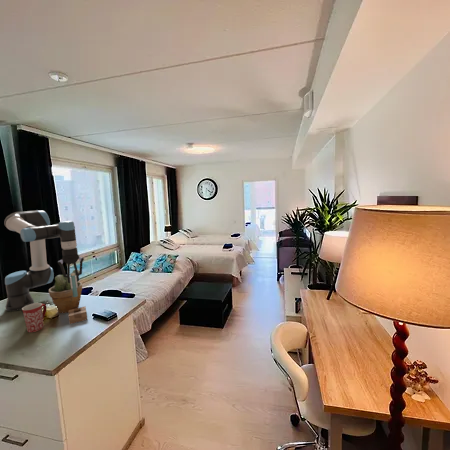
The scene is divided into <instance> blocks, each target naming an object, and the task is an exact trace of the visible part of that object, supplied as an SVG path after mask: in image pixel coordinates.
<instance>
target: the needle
mask: <svg viewBox="0 0 450 450" xmlns="http://www.w3.org/2000/svg"><path fill="white" fill-rule="evenodd" d="M70 276H71V279H72V287H73V288H72V291H73V297H77V296H78V293H77V288H76V281H75V273H72V272H71V273H70Z"/></svg>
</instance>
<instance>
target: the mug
mask: <svg viewBox="0 0 450 450" xmlns="http://www.w3.org/2000/svg"><path fill="white" fill-rule="evenodd" d="M21 311H22V313H23V318H24V322H25V326H26V331H27V332H28V333H36V332H38V331H41V330H43V328H44V319H45V316H46V313H47V305H46V304H45V303H41V302H34V303H33V304H29V305H27V306H25V307H23V308H22V309H21Z"/></svg>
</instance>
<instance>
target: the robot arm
mask: <svg viewBox="0 0 450 450" xmlns="http://www.w3.org/2000/svg"><path fill="white" fill-rule="evenodd" d="M4 226H5V227H6V229H7V230H9V231H12V232H16V233H18V234H19V235H20V239H21V241H22V242H25V243H28V242H29V246H30V258H31V266H30V267H29V271H27V270H19V271H15V272H12V273H9V274H8V275H6V276H5V278H4V285H5V290H6V296H7V300H6V302H5V310H6V311H7V312H15V311H22V308H23V307H25V306H27V305H29V304H33V303H35V300H34V298H33V297H32V295H31V293H30V289H34V288H38V287H41V286H45V285H47V284H51V283H52V282H53V280H54V279H55V277H54V276H55V275H54V274H55V273H54V269H53V267H51V266H50V264H48V261H47V249H46V240H47V239H49V240H50V239H55V238H59V239H60V245H61V249H62V250H61V253H62V257H61V259H60V260H58V261H57V264H58V265H59V266H60V271H61V273H62V275H63V277H66V278H68V283H71V289H72V288H73V287H72V279H71V277H70V272H71V268H70V267H71V266H70V265H73V268H74V270H75V273H76V276H75V281H76V288H77V287H78V285H77V281H78V282H80V276H81V275H82V273H83V261H85V258H84V257H81V256H80V255H79V253H78V252H79V251H78V246H77V245H78V243H77V236H76V235H77V234H76V230H75V229H76V226H75V223H74V221H72V220H66V221H65V220H64V221H59V222H58V223H55V224H52V225H51V221H50V218H49V215H48V213H47V212H46V211H45V210H38V209H36V210H27V211H25V210H24V211H15V212H12V213H10V214H8V215H7V216H6V217H5V219H4ZM78 260H79V271H80V272H79V273H78V266H77V261H78ZM63 263H65V264H66V266H67V267H66V270H65V268H64V265H63ZM66 271H67V274H66Z"/></svg>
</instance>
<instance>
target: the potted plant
mask: <svg viewBox="0 0 450 450" xmlns="http://www.w3.org/2000/svg"><path fill="white" fill-rule="evenodd" d="M77 270H78V269H77ZM79 272H80V269H79V270H78V273H79ZM71 273H75V269H74V270H72V272H71ZM75 276H76V273H75ZM70 277H71V276H70ZM54 280H55V281H54V285H53V286H52V287H50V288H49V289H48V295H49V297H50V298H51V300H52V303H53V305H54V306H57V308H58V310H57V312H58V313H59V314H69V310H72V309H76V308H80V302H81V296H82V291H83V283H82V282H81V281H77V285H78V287H77V293H78V296H77V297H73V291H72V289H71V283H68V278H66V277H63V274H58V275H56V276H55V277H54Z"/></svg>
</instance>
